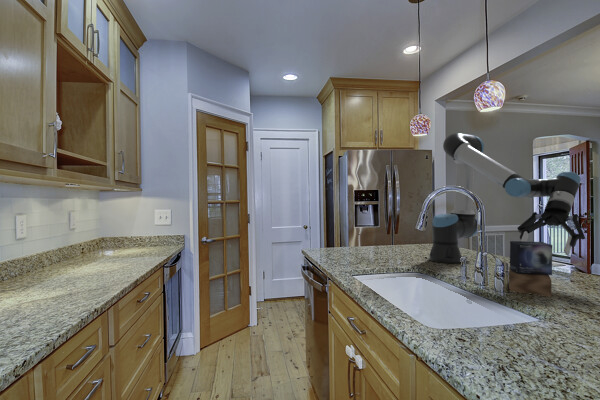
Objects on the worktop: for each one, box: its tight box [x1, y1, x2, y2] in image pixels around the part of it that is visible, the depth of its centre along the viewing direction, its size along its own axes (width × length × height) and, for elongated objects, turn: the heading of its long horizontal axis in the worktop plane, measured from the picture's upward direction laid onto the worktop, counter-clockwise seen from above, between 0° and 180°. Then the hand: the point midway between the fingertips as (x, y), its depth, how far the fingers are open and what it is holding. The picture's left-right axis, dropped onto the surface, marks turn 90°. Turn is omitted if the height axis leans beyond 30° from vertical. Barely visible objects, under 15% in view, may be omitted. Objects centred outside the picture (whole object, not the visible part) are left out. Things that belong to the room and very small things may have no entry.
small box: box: [508, 240, 553, 276], centre depth 106 cm, size 11×6×10 cm, turn 78°
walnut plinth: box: [508, 268, 552, 298], centre depth 106 cm, size 11×14×6 cm
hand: (542, 249), depth 112 cm, fingers open, 13 cm apart
